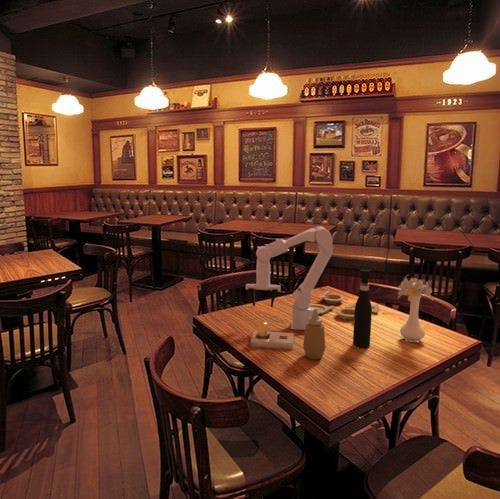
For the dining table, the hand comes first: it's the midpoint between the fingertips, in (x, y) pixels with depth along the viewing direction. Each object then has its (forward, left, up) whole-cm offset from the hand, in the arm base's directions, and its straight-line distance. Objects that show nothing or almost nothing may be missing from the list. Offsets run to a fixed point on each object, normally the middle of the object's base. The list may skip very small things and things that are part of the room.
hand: (262, 306), depth 184 cm
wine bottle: (-40, +13, -10) cm, 43 cm away
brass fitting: (-2, +16, -9) cm, 19 cm away
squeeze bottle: (-22, +26, -10) cm, 35 cm away
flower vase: (-60, +4, -10) cm, 61 cm away
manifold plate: (-6, +16, -9) cm, 20 cm away
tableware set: (-34, -29, -10) cm, 46 cm away
